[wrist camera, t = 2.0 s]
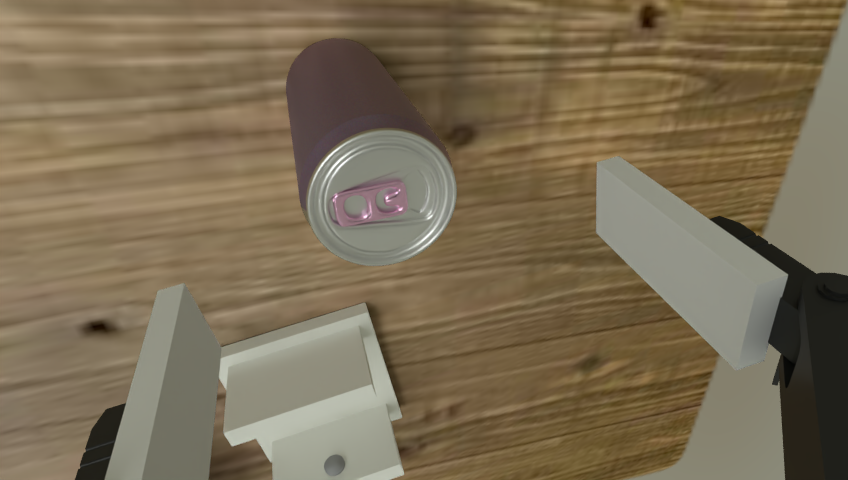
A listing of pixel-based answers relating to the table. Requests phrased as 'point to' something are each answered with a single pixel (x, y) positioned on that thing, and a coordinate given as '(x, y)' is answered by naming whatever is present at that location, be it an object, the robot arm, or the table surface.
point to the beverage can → (365, 157)
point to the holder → (315, 399)
